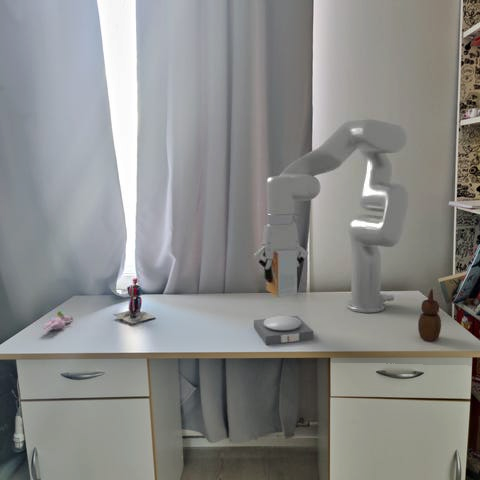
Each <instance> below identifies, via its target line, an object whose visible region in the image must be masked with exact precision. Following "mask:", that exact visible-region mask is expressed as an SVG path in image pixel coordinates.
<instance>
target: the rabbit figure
mask: <svg viewBox="0 0 480 480" xmlns="http://www.w3.org/2000/svg"><path fill="white" fill-rule="evenodd" d="M72 321H74V318H73V316H72V315H70V316H67V315H64V314H63V313H62V310H61V309H59V310H58V311H57V317H54V318H51V319H50V320H49V321H48V322H45V323H44V324H43V326H42V327H43V330H46V329H47V328H48V330H50V329H51V330H56V331H59V330H61V329H62V328H65V326H66V325H68V324H69V325H70V323H71V322H72Z"/></svg>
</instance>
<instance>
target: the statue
mask: <svg viewBox="0 0 480 480" xmlns="http://www.w3.org/2000/svg"><path fill="white" fill-rule="evenodd" d="M132 283H133V284H131V285H129V286H127V287H126V288H127V294H128V295H129V297H130V298H129V301H128V310H127V311H124V312H118V313H113V314H112V316H114V317H116V318H117V319H119V320H120V322H122V321H123V323H124V324H128V325H129V326H137V324H138V323H146V322H147V320H150V319H151V320H152V319H153V320H155V319H156V316H155V315H152V314H150V313H148V312H146V311H144V310H143V311H141V309H142V297H141V295H142V286H141V285H138V284H137V283H138V278H137V277H134V278H133V279H132Z"/></svg>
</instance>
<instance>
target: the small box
mask: <svg viewBox="0 0 480 480" xmlns="http://www.w3.org/2000/svg"><path fill="white" fill-rule="evenodd" d="M297 258H298V257H297V250H284V251H274V259H273V261H272V263H271V265H270V269H271V283H269V282H267V281H266V280H265V291H268V292H270V294H272V295H274V296H276V297H277V298H283V297H289V296H290V297H291V296H295V295H298V277H297Z"/></svg>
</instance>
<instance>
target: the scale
mask: <svg viewBox="0 0 480 480" xmlns="http://www.w3.org/2000/svg"><path fill="white" fill-rule="evenodd" d="M253 329H254V331H255V332H257V333H256V334H258V335H259V337H260V338H261V340H262V342H263V343H264V344H265V345H266V346H269V345H278V344H285V343H293V342H294V343H295V342H305V341H310V340H311V341H312V340H314V330H313V329H312V328H311V327H310V326H308V324H307V323H305V321H303V320H302V318H300V317H299V316H298V315H293V316H292V315H291V316H289V315H288V316H286V315H279V316H278V315H276V316H272V317H269V318H263V319H254V320H253Z"/></svg>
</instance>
